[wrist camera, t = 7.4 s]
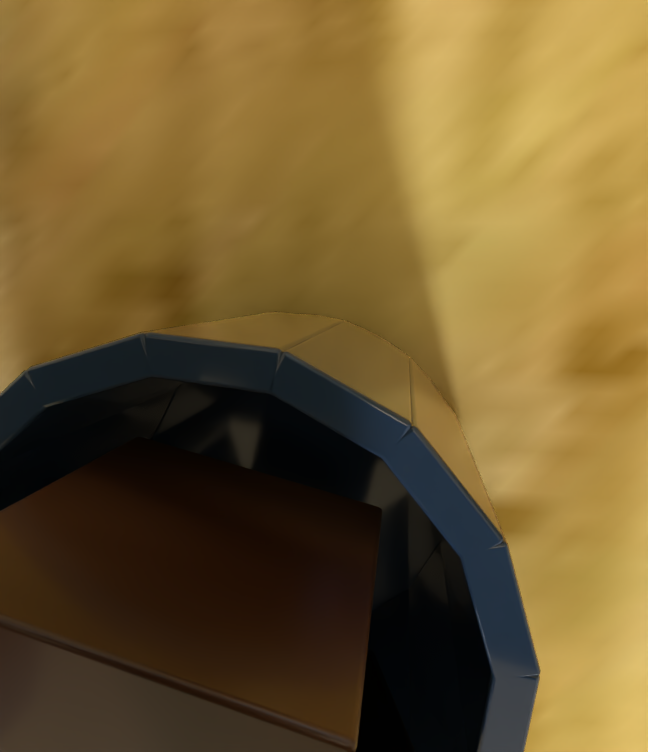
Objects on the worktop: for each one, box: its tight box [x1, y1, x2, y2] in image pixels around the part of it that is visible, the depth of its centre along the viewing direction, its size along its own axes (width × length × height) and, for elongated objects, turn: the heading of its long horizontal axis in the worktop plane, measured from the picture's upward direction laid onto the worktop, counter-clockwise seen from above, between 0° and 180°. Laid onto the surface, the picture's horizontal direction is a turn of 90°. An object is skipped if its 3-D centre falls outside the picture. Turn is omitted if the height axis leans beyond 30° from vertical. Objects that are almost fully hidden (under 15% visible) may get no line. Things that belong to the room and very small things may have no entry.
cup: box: [0, 312, 540, 752], centre depth 10 cm, size 9×9×7 cm
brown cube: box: [0, 437, 382, 752], centre depth 7 cm, size 4×4×4 cm
